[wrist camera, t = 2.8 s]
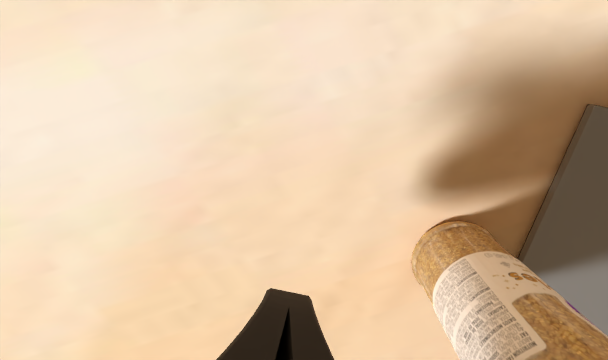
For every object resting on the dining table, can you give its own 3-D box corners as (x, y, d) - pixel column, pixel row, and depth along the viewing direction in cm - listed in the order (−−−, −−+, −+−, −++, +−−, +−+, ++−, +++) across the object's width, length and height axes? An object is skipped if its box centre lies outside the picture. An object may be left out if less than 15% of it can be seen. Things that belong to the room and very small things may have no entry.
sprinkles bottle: (511, 245, 17) (1105, 719, 4) (456, 306, 18) (794, 828, 5) (443, 201, 17) (889, 593, 4) (390, 267, 18) (591, 741, 5)
